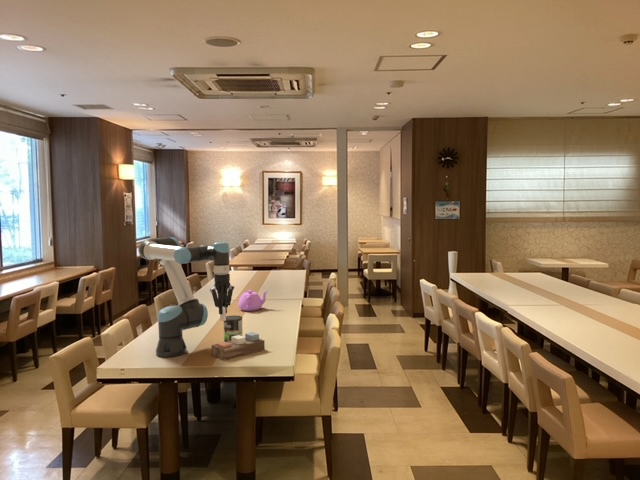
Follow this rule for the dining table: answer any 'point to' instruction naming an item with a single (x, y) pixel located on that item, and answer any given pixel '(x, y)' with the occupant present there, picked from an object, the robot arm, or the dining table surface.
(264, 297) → the teapot
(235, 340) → the ivory key
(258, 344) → the key console
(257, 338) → the slate key
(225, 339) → the coffee can
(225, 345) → the terracotta key
